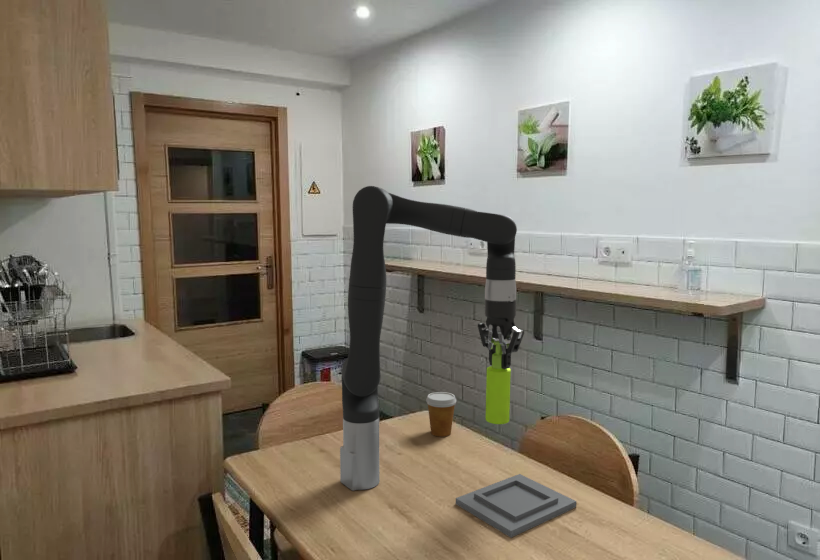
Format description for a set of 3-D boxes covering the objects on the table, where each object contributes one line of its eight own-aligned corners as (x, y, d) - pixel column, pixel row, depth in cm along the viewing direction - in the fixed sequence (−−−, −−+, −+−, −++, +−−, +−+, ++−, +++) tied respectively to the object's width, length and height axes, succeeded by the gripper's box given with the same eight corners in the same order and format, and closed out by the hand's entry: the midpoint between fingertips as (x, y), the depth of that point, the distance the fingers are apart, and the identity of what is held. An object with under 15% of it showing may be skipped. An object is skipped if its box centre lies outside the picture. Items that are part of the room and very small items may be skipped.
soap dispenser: (513, 425, 142) (515, 345, 139) (484, 423, 143) (486, 343, 140) (513, 416, 148) (515, 339, 145) (486, 415, 149) (487, 338, 146)
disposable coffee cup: (460, 430, 187) (460, 393, 185) (449, 440, 178) (450, 402, 177) (432, 425, 191) (433, 390, 189) (421, 435, 182) (421, 398, 181)
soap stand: (510, 537, 125) (511, 526, 125) (455, 504, 139) (455, 494, 139) (576, 507, 138) (576, 497, 138) (519, 479, 152) (519, 470, 152)
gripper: (469, 295, 145) (468, 363, 147) (511, 302, 134) (510, 375, 136) (490, 293, 150) (489, 358, 152) (533, 299, 139) (532, 370, 141)
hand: (499, 366), depth 144 cm, fingers closed on soap dispenser, 3 cm apart
